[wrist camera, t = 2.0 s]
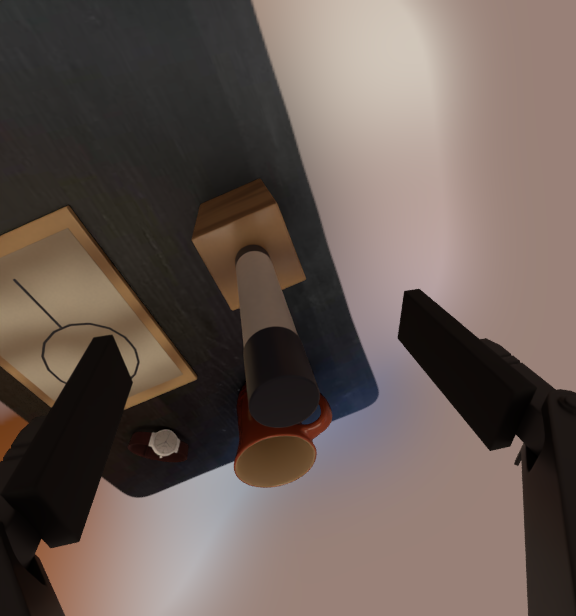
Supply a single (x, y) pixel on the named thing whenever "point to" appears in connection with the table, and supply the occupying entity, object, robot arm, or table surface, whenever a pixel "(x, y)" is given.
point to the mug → (275, 447)
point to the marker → (271, 346)
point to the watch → (159, 446)
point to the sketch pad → (75, 312)
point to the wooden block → (244, 236)
